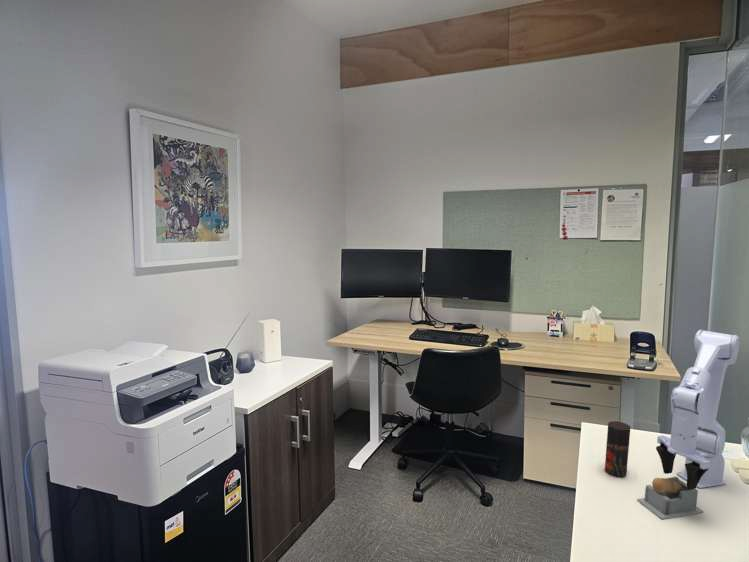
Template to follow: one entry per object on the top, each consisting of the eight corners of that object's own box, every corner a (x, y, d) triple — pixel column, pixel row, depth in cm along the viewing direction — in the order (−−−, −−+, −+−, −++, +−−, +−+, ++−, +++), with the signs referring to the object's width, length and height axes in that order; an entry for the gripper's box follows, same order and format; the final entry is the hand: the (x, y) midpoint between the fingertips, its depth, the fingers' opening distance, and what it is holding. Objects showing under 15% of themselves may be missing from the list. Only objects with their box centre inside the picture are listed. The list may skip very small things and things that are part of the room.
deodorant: (629, 478, 143) (633, 430, 141) (607, 476, 144) (611, 428, 142) (623, 468, 149) (627, 422, 147) (602, 466, 150) (605, 420, 148)
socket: (676, 494, 135) (678, 474, 134) (703, 512, 127) (705, 491, 126) (637, 500, 132) (638, 480, 131) (661, 519, 124) (663, 498, 123)
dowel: (668, 488, 131) (650, 487, 130) (672, 476, 131) (654, 475, 129) (679, 496, 128) (661, 495, 126) (683, 484, 127) (665, 482, 126)
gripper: (649, 422, 133) (645, 468, 135) (695, 447, 119) (690, 498, 121) (671, 419, 135) (666, 465, 137) (718, 443, 121) (713, 494, 123)
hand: (679, 480), depth 129 cm, fingers open, 7 cm apart
